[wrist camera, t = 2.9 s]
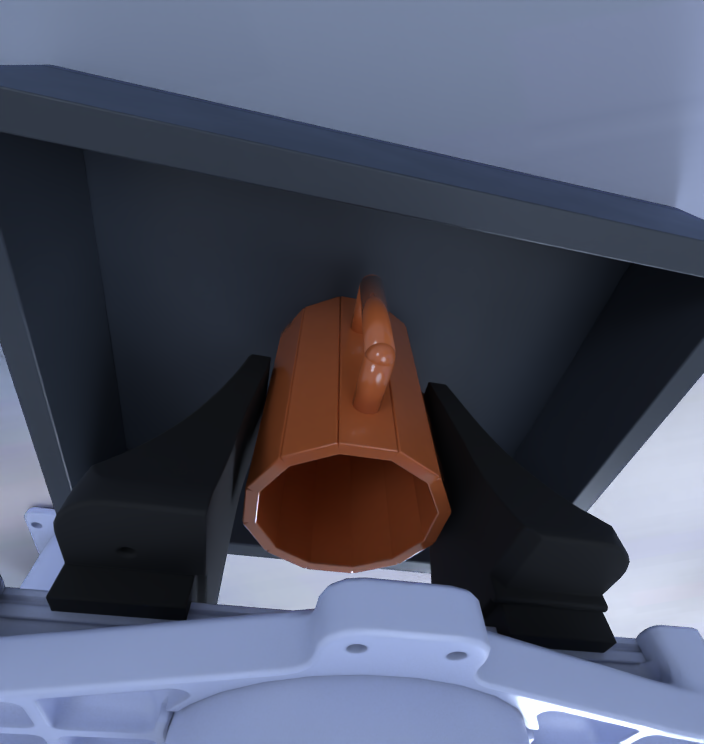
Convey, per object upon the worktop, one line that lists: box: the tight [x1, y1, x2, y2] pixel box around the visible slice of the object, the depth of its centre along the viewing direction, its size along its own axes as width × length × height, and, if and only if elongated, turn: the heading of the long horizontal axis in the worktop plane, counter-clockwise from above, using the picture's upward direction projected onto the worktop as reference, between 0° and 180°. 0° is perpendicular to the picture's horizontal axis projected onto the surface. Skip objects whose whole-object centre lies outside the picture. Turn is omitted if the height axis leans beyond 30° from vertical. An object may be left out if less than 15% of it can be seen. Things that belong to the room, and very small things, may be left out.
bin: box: [0, 65, 704, 574], centre depth 15 cm, size 15×19×4 cm
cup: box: [242, 274, 452, 573], centre depth 13 cm, size 7×5×7 cm
